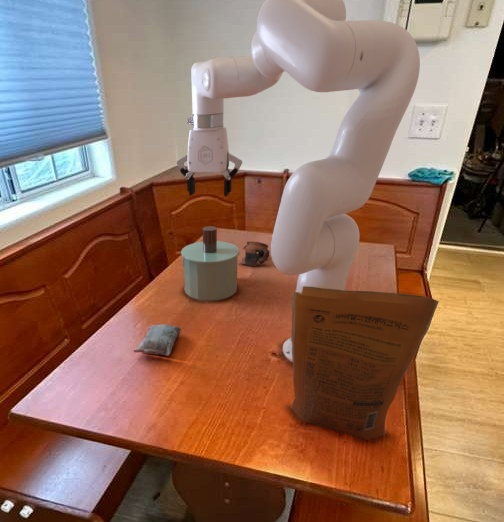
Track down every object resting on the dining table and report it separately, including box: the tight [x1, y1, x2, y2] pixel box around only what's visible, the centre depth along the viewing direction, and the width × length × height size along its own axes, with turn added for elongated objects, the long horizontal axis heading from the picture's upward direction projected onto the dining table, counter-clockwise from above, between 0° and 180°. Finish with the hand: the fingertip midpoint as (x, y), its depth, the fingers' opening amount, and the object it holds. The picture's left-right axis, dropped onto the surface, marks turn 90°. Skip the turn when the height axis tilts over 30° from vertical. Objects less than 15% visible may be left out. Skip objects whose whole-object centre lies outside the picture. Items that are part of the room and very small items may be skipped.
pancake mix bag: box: [290, 286, 440, 441], centre depth 65 cm, size 7×19×28 cm, turn 62°
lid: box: [180, 225, 240, 264], centre depth 114 cm, size 17×17×8 cm
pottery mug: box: [241, 241, 270, 267], centre depth 137 cm, size 12×10×8 cm
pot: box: [182, 255, 239, 301], centre depth 119 cm, size 16×16×12 cm
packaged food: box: [133, 324, 182, 357], centre depth 96 cm, size 9×12×5 cm
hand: (209, 194), depth 107 cm, fingers open, 9 cm apart
